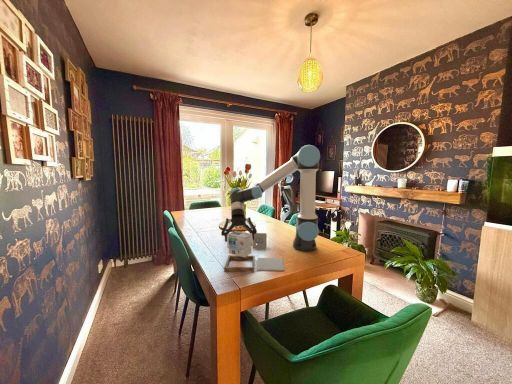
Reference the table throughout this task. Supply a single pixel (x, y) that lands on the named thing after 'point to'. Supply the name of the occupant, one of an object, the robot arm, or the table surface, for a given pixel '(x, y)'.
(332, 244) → the table surface
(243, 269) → the walnut collar
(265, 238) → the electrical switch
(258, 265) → the rubber mat
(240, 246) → the light bulb box
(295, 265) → the table surface
